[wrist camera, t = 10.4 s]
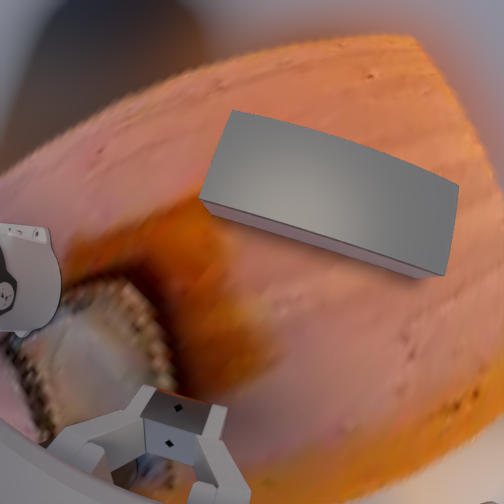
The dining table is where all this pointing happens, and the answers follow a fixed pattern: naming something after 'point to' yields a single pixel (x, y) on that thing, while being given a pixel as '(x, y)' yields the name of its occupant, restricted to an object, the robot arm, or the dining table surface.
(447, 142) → the dining table surface
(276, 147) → the plate
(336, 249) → the cable duct
